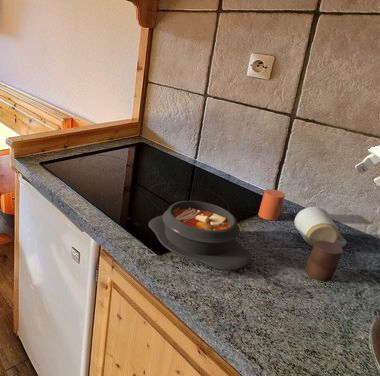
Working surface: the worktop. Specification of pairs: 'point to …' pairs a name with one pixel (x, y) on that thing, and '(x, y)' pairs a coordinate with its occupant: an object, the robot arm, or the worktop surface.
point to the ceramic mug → (318, 227)
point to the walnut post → (323, 260)
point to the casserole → (202, 234)
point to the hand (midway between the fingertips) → (365, 175)
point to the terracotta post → (271, 204)
